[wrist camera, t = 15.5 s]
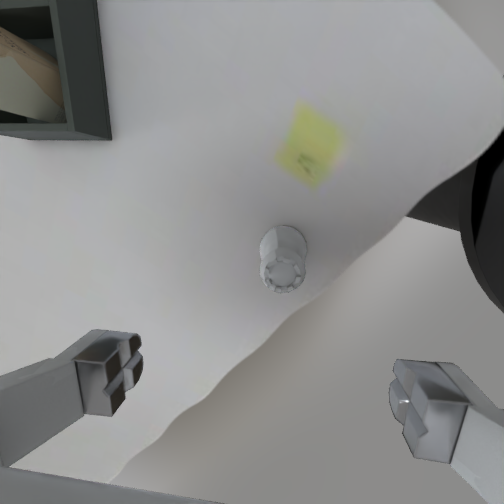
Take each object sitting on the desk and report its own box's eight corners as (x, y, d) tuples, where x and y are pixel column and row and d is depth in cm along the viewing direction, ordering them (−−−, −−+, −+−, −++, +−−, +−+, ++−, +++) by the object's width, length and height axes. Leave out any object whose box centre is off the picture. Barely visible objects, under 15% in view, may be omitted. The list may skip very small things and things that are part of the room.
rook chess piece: (253, 233, 25) (239, 256, 17) (297, 218, 24) (304, 234, 16) (269, 274, 26) (262, 313, 18) (312, 261, 25) (324, 296, 17)
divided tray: (86, -93, 20) (31, -168, 16) (112, 140, 24) (74, 131, 20) (-12, -82, 21) (-89, -150, 17) (30, 140, 25) (-22, 131, 21)
